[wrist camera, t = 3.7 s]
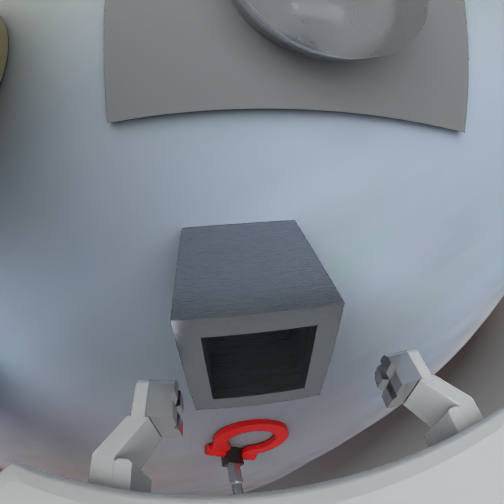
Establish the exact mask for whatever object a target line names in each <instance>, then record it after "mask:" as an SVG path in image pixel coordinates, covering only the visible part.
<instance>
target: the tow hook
mask: <svg viewBox="0 0 504 504" xmlns="http://www.w3.org/2000/svg"><path fill="white" fill-rule="evenodd" d="M251 431H269V432H272V433H274V435H273V437H272V438H270V439H269V440H267V441H265V442H263V443H260V444H256V445H251V446H246V447H245V448H243V449H240V448H236V447H230V443H228V440H229V439H231V438H232V437H234V436H236V435H239V434H242V433H246V432H251ZM288 434H289V433H288V430H287V427H286V425H285V424H283V423H282V422H279V421H275V420H268V419H256V420H247V421H242V422H238V423H234V424H232V425H229V426H226V427H225V428H223V429H221V430H219V431H218V432H217V433H216V434H215V435H214V437H213V442H214V443H213V444H212V445H210V444H207V445H206V446H205V454H206V455H212V456H219V457H221V460H222V466H223V467H227V469H228V475H229V481H230V485H232V491H233V494H244V493H243V488H242V483H243V479H242V474H241V469H240V466H242V465H243V464H244V461H243V459H245V460H254V459H255V458H256V455H257V454H258V453H262V452H265V451H268V450H271V449H273V448H275V447H277V446H279V445H280V444H282V443H283V442H284V441H285V440H286V439H287V437H288Z"/></svg>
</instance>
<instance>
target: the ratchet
mask: <svg viewBox="0 0 504 504" xmlns="http://www.w3.org/2000/svg"><path fill="white" fill-rule="evenodd" d="M232 3H233V4H234V6H235V8H236V9H237V11H238V12H239V14H240V15H241V16H242V17H243V19H244V20H245V21H246V22H247V23H248V24H249V25H250V26H251V27H252V28H253V29H254V30H255V31H256V32H258V33H259V34H260V35H262V36H263V37H264V38H265V39H267V40H269V41H270V42H272V43H273V44H275V45H277V46H279V47H281V48H283V49H285V50H287V51H289V52H292V53H294V54H297V55H299V56H303V57H307V58H310V59H315V60H321V61H333V62H338V61H350V60H357V59H365V58H374V57H381V56H385V55H389V54H392V53H395V52H397V51H399V50H401V49H403V48H404V47H406V46H407V45H409V44H410V43H411V42H412V41H413V40H414V39H415V38H416V37H417V36H418V34H419V33H420V32H421V30H422V28H423V26H424V24H425V21H426V17H427V14H428V5H429V2H428V0H232Z"/></svg>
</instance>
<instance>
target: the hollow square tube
mask: <svg viewBox="0 0 504 504" xmlns="http://www.w3.org/2000/svg"><path fill="white" fill-rule="evenodd" d="M343 308H344V301H343V299H342V298H341V296H340V294H339V293H338V291H337V289H336V287H335V286H334V284H333V282H332V281H331V279H330V277H329V276H328V274H327V272H326V271H325V269H324V267H323V266H322V264H321V262H320V261H319V259H318V257H317V256H316V254H315V252H314V251H313V249H312V247H311V246H310V244H309V243H308V241H307V239H306V238H305V236H304V234H303V233H302V231H301V230H300V228H299V226H298V225H297V223H296V222H295V220H291V221H274V222H258V223H243V224H229V225H216V226H203V227H190V228H182V234H181V241H180V248H179V255H178V262H177V269H176V277H175V285H174V293H173V302H172V311H171V320H170V321H171V325H172V329H173V333H174V337H175V340H176V344H177V348H178V351H179V355H180V359H181V362H182V366H183V369H184V372H185V376H186V379H187V382H188V386H189V389H190V392H191V395H192V398H193V402H194V405H195V408H196V410H203V409H218V408H230V407H241V406H250V405H258V404H266V403H273V402H280V401H287V400H293V399H299V398H304V397H310V396H315V395H320V392H321V389H322V386H323V383H324V379H325V376H326V373H327V369H328V366H329V362H330V359H331V355H332V351H333V348H334V344H335V340H336V336H337V332H338V328H339V324H340V320H341V316H342V312H343Z"/></svg>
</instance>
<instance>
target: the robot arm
mask: <svg viewBox="0 0 504 504" xmlns="http://www.w3.org/2000/svg"><path fill="white" fill-rule="evenodd" d="M381 363H382V364H381V365H380V366H379V367H378V368H377V370H376V372H375V381H376V384H377V387H378V388H379V389H380V390H382V391H383V393H382V398H383V400H384V402H385V405H386V407H387V408H390V407H394V406H397V405H401V404H404V405H405V406H406V407H407V408H408V409H410V410H411V411H412V412H413V413H414V414H415V415H417V416H418V417H419V418H420V419H422V420H423V421H424V422H425V423H426V424H428V425H429V426H430V427H431V429H430V430H429V431H428V432H427V433H426V434H425V437H424V438H425V440H426V443H427V445H428V448H426V449H424V450H422V451H419V452H417V453H414V454H412V455H410V456H407V457H404V458H402V459H400V460H397V461H394V462H391V463H388V464H385V465H382V466H379V467H377V468H374V469H370V470H367V471H364V472H361V473H357V474H353V475H350V476H346V477H343V478H338V479H334V480H330V481H326V482H321V483H316V484H311V485H306V486H301V487H295V488H289V489H282V490H275V491H268V492H258V493H246V494H231V495H174V494H159V493H151V479H150V478H149V477H148V476H146V475H145V474H144V473H143V472H142V471H141V470H140V469H141V468H142V466H143V465H144V463H145V462H146V461H147V459H148V458H149V456H150V455H151V453H152V452H153V450H154V449H155V448H156V446H157V445H158V443H159V442H160V440H161V439H162V438H161V437H183V422H182V419H181V417H180V416H181V415H182V414H183V398H182V394H181V391H179V390H178V383H177V380H137V382H136V385H135V391H134V397H133V404H132V410H131V416H126V417H125V419H124V420H123V421H122V422H121V423H120V424H119V425H118V426H117V427H116V428H115V429H114V431H113V432H112V433H111V434H110V435H109V436H108V437H107V438H106V439H105V440H104V441H103V443H102V444H101V445H100V446H99V447H98V448H97V449H96V450H95V451H94V452H93V454H92V460H91V466H90V473H89V481H88V483H86V482H82V481H77V480H73V479H69V478H66V477H62V476H58V475H55V474H52V473H48V472H45V471H42V470H39V469H36V468H33V467H30V466H27V465H25V464H22V463H18V462H14V463H12V464H10V465H9V466H7V467H6V468H5V469H4V470H3V471H1V472H0V504H504V406H503V407H502V408H500V409H499V410H497V411H496V412H494V413H492V414H491V415H489V416H488V417H486V418H483V417H482V415H481V413H480V411H479V409H478V407H477V406H476V404H475V402H474V400H473V399H472V397H470V396H469V395H467V394H465V393H464V392H462V391H460V390H459V389H457V388H455V387H454V386H452V385H450V384H449V383H447V382H445V381H444V380H442V379H440V378H439V377H437V376H435V375H433V376H432V375H431V373H430V371H429V370H428V368H427V366H426V364H425V363H424V361H423V359H422V358H421V356H420V354H419V353H418V351H417V350H416V349H415V348H412V349H408V350H405V351H400V352H396V353H392V354H388V355H385V356H383V357H382V359H381Z"/></svg>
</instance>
